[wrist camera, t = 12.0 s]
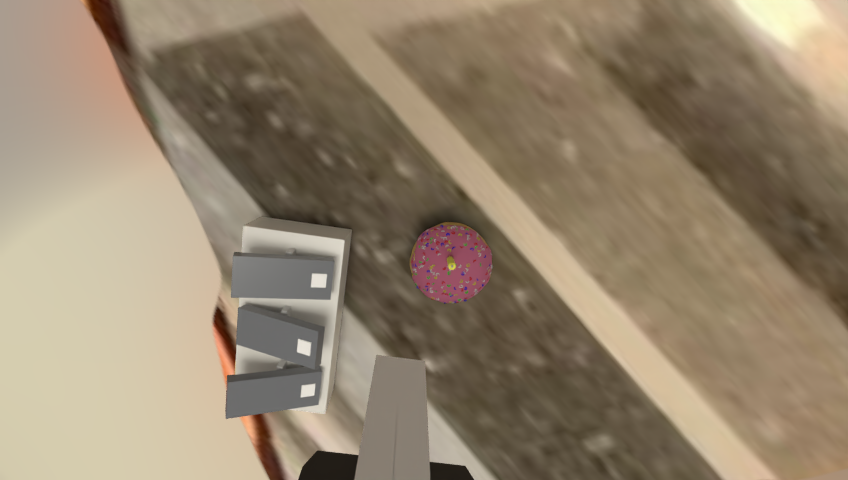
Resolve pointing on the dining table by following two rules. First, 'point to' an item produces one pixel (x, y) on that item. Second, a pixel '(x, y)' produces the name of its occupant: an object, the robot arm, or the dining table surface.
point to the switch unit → (328, 313)
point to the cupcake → (450, 262)
